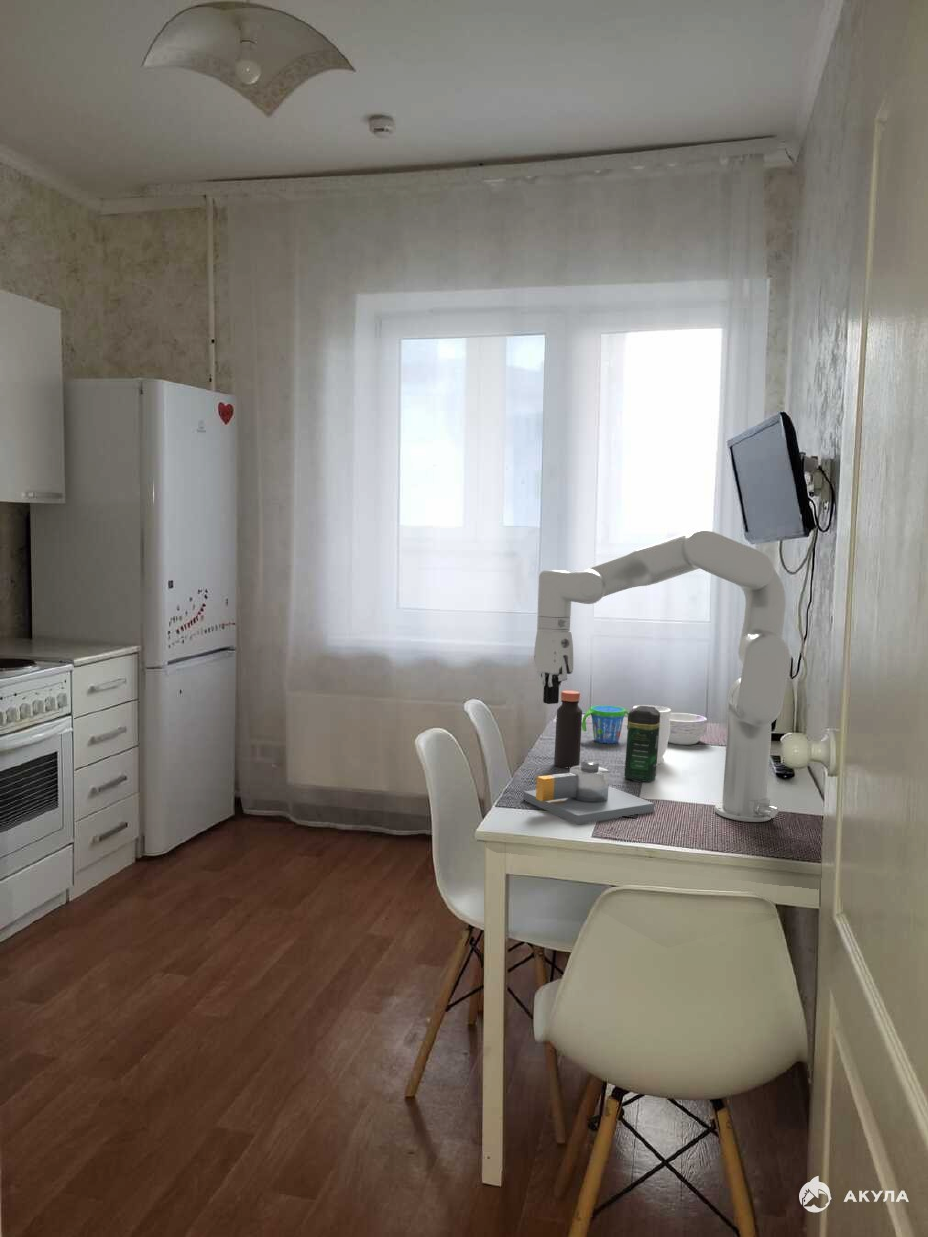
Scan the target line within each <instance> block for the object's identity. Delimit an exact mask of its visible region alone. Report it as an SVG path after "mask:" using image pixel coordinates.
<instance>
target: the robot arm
mask: <svg viewBox="0 0 928 1237" xmlns="http://www.w3.org/2000/svg"><path fill="white" fill-rule="evenodd" d="M699 569H700V570H702V571H705V572H706V573H709V574H711V575H714V576H715V577H718V578H720V579H723V580H725V581H728V582H730V583H732V584H735V585H736V586H738V587H740V588H741V590H742V591H743V594H744V597H745V606H744V607H745V608H744V619H743V623H742V629H741V635H740V639H739V644H738V651H737V652H738V653H737V654H738V657H739V660H740V661H741V663H742V670H741V676H740V678H738V679H736V680H735V681H734V682H733V683H732V684H731V686H730V688H729V691H728V694H727V705H726V706H727V726H726V727H727V729H726V730H727V731H726V745H725V756H724V757H725V759H724V772H723V787H722V798H721V799H722V800H721V802H718V803H716V804H715V805H714V812H715V813H716V814H717V815H718V816H721V817H723V818H727V819H730V820H735V821H738V822H739V821H740V822H746V823H747V822H749V823H763V822H764V823H765V822H768V821H770V820H772V819H773V818H775V817H776V815H777V814H778V813H779V811H780V810H779V808H778V807H775V806H771V798H768V796H767V794H768V782H769V770H770V769H769V768H770V756H771V744H772V723H774V722H775V720H777V719H778V717H779V716H780V714H781V712H782V708H783V704H784V699H785V696H786V695H785V694H786V688H787V682H788V677H789V670H790V658H791V657H790V654H791V653H790V650H789V647H788V644H787V643H786V641H785V640H784V639H783V631H784V623H785V616H786V615H785V613H786V600H787V598H786V592H785V587H784V585H783V581H782V579H781V578H780V575H779V573H778V572H777V571H776V569H775V567H774V564H773V561H772V559H771V558H770V557H769V555H767V554H766V553H765V552H763V551H761V550H759V549H756V548H753V547H751V546H748V545H746V544H743V543H741V542H739V541H737V540H734V539H731V538H729V537H727V536H724V535H722V534H720V533H718V532H715V531H713V530H710V529H707V528H705V529H704V528H700V529H699V528H698V529H694V530H691V531H689V532H685V533H682V534H679V535H677V536H673V537H671V538H667V539H665V540H663V541H659V542H656V543H654V544H650V545H648V546H645V547H642V548H639V549H637V550H635V551H632V552H631V553H629V554H627V555H624V556H621V557H618V558H615V559H613V560H610V561H607V562H603V563H600V564H598V565H595V566H591V567H589V568H586V569H584V570H582V571H574V572H569V571H567V570H561V569H559V570H558V569H553V570H552V569H545V570H543V571H541V572H539V576H538V592H537V593H538V594H537V597H538V598H537V624H536V629H537V630H536V636H535V641H534V651H533V664H534V669H535V670H536V674H537V675H538V676H539V677H541V681H542V682H541V683H542V686H543V695H542V696H543V698H542V702H543V704H546V705H552V704H558V703H559V698H560V687H561V685H562V683H563V682H564V681H567V680H568V675H571V674H573V671H574V641H573V635H572V631H571V616H572V615H571V614H572V610H571V609H572V602H573V603H580V604H583V605H593V604H596V603H597V602H600V601H601V599H603V598H604V597H608V596H610V595H613V594H615V593H618V592H622V591H624V590H628V589H632V588H637V587H647V586H651V585H656V584H659V583H662V582H664V581H667V580H669V579H672V578H676V577H679V576H682V575H685V574H687V573H691V572H693V571H696V570H699ZM771 818H772V819H771Z"/></svg>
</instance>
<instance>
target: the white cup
mask: <svg viewBox="0 0 928 1237" xmlns="http://www.w3.org/2000/svg"><path fill="white" fill-rule="evenodd" d="M639 706H648V707H655V709H657V710H658V711H659V712H660V727H659V741H658V754H657V765H660V764H663V763H664V762H665V758H664V755H665V754H666V751H667V749H668V748H667V747H668V743H669V742H668V740H669V735H670V719H669V714H670V713H672V709H671V708H669V707H665V706H662V705H655V704H653V705H652V704H637V705H634V706H633V707H632V709H634V708H637V707H639Z"/></svg>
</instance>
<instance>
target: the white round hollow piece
mask: <svg viewBox="0 0 928 1237" xmlns="http://www.w3.org/2000/svg"><path fill="white" fill-rule="evenodd" d="M669 719H670V735H669V740H668V743H669V744H674V745H682V746H683V745H685V746H689V745H690V746H691V745H696V744H697V743H698V742H699V741H700V739H701V737H703V736H706V735H707V734H708V732H707V731H708V718H707V717H705V716H703V715H699V714H694V713H686V712H671V713H670V714H669Z"/></svg>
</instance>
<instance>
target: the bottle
mask: <svg viewBox="0 0 928 1237" xmlns="http://www.w3.org/2000/svg"><path fill="white" fill-rule="evenodd" d="M580 695H581V693H580V691H577V690H562V691H561V693H560V702H561V705H560V706H559V707H558V708H557V709H556V717H555V718H556V720H555V721H556V723H555V724H556V725H555V739H554V756H553V757H554V758H553V762H554V763H553V764H554V765H555V766H556V767H558V768H562V767H568V768H567V769H570V768H571V767H574V766H580V764H581V762H580V761H581V743H582V742H581V741H582V721H583V710H582V709H581V707H579V703H580V697H581V696H580ZM569 767H570V768H569Z"/></svg>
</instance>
